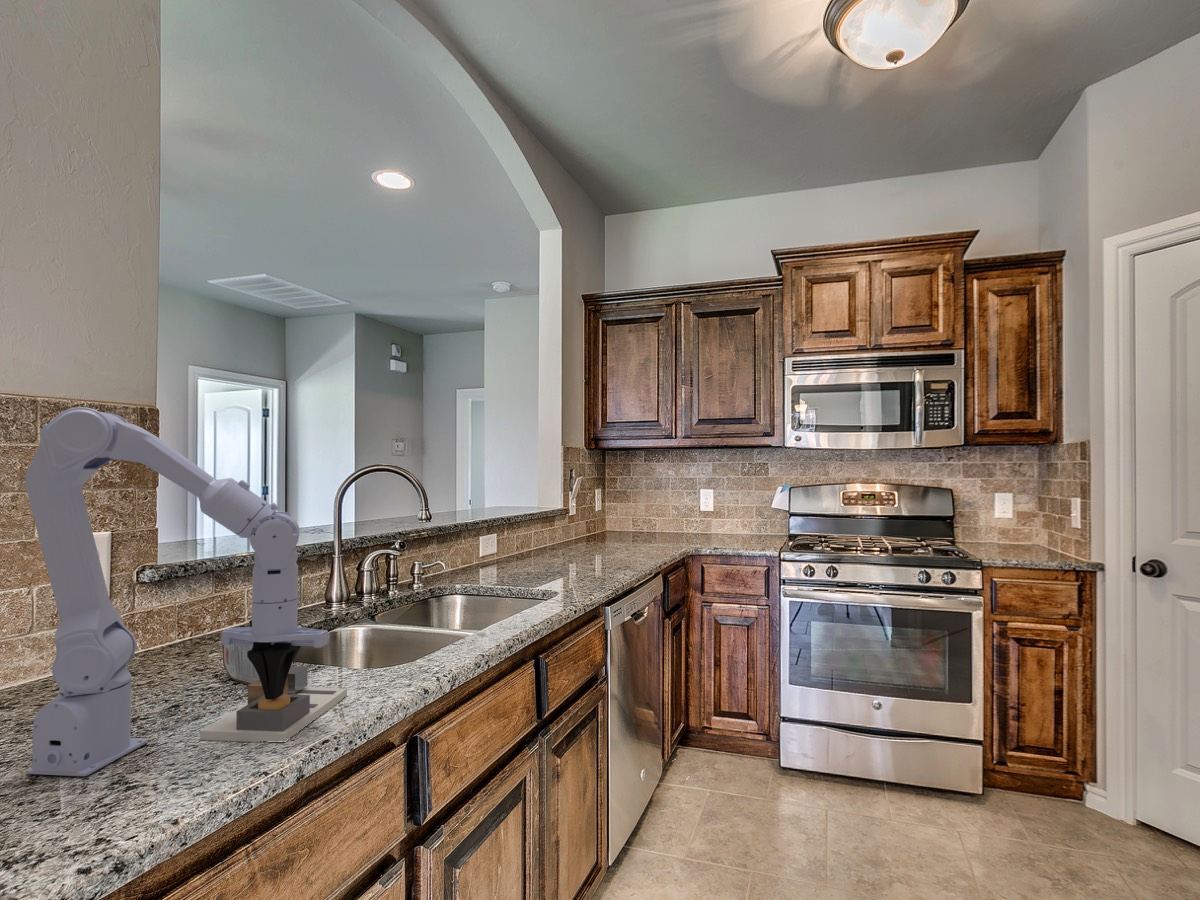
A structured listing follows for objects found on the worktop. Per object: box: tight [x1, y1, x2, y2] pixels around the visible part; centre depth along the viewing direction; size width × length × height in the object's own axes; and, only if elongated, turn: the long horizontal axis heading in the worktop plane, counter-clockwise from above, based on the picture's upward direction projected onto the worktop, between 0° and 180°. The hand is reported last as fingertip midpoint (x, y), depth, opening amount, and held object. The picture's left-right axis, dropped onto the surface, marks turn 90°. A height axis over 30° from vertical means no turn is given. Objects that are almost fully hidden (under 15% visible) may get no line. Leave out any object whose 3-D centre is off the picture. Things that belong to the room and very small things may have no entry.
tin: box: [221, 644, 260, 686], centre depth 107 cm, size 15×3×8 cm, turn 59°
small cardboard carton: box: [247, 678, 288, 704], centre depth 94 cm, size 4×4×3 cm
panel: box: [199, 686, 348, 743], centre depth 93 cm, size 17×12×4 cm
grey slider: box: [287, 665, 308, 693], centre depth 100 cm, size 4×4×3 cm
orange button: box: [258, 695, 290, 710], centre depth 88 cm, size 4×4×2 cm
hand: (274, 696), depth 89 cm, fingers closed
